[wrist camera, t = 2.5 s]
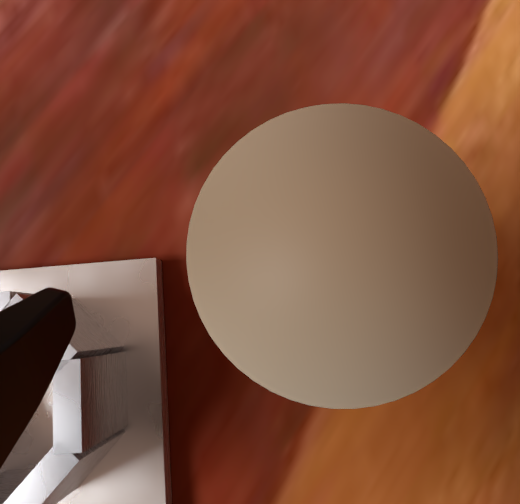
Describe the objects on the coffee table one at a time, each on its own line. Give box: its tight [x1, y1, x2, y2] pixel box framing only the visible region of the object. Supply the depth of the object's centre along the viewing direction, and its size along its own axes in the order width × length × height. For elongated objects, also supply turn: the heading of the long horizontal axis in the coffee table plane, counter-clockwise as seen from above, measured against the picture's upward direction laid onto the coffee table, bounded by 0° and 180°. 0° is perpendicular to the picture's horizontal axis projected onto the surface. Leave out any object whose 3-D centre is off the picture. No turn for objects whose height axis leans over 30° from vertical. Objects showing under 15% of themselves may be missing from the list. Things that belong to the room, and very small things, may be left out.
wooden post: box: [186, 103, 498, 409], centre depth 12 cm, size 3×3×13 cm
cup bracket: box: [0, 258, 172, 504], centre depth 16 cm, size 9×9×4 cm
